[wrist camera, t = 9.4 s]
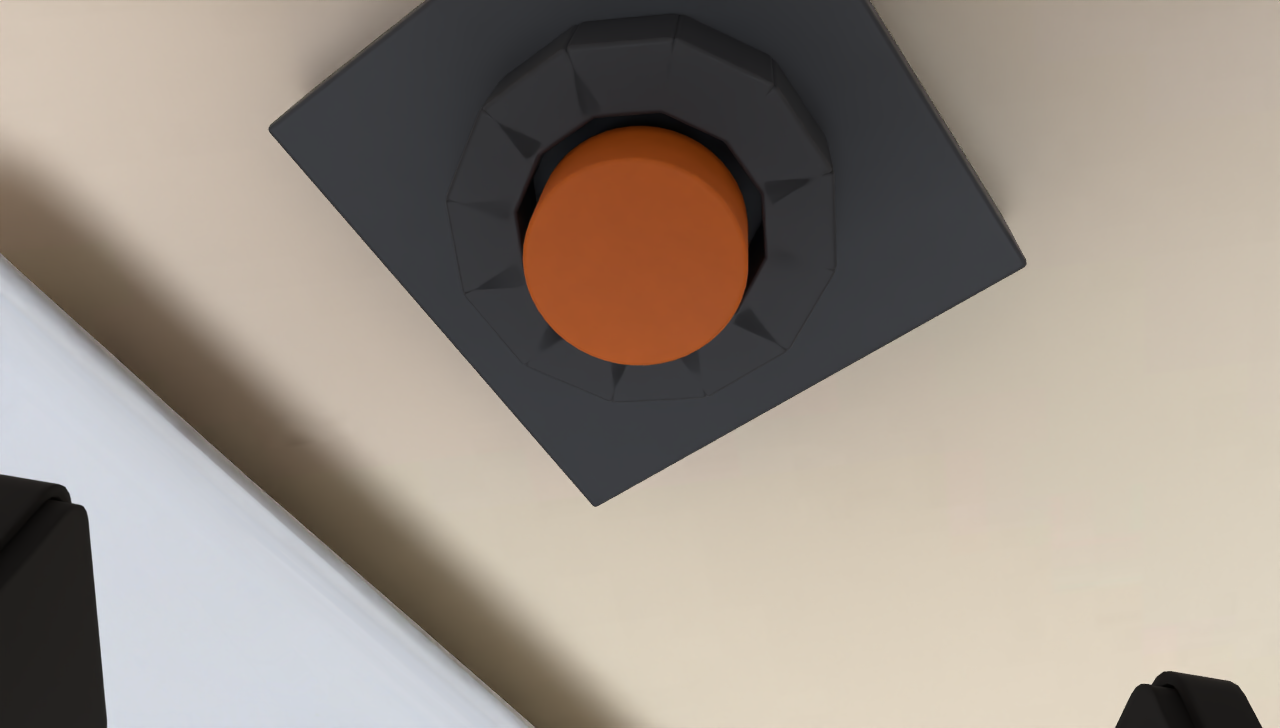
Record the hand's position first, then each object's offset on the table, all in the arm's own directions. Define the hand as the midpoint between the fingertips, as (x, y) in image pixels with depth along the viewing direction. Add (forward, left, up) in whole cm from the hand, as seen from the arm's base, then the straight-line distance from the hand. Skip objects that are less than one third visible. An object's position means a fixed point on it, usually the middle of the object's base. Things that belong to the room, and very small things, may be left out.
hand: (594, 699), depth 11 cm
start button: (0, 0, -11) cm, 11 cm away
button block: (0, 0, -15) cm, 15 cm away
